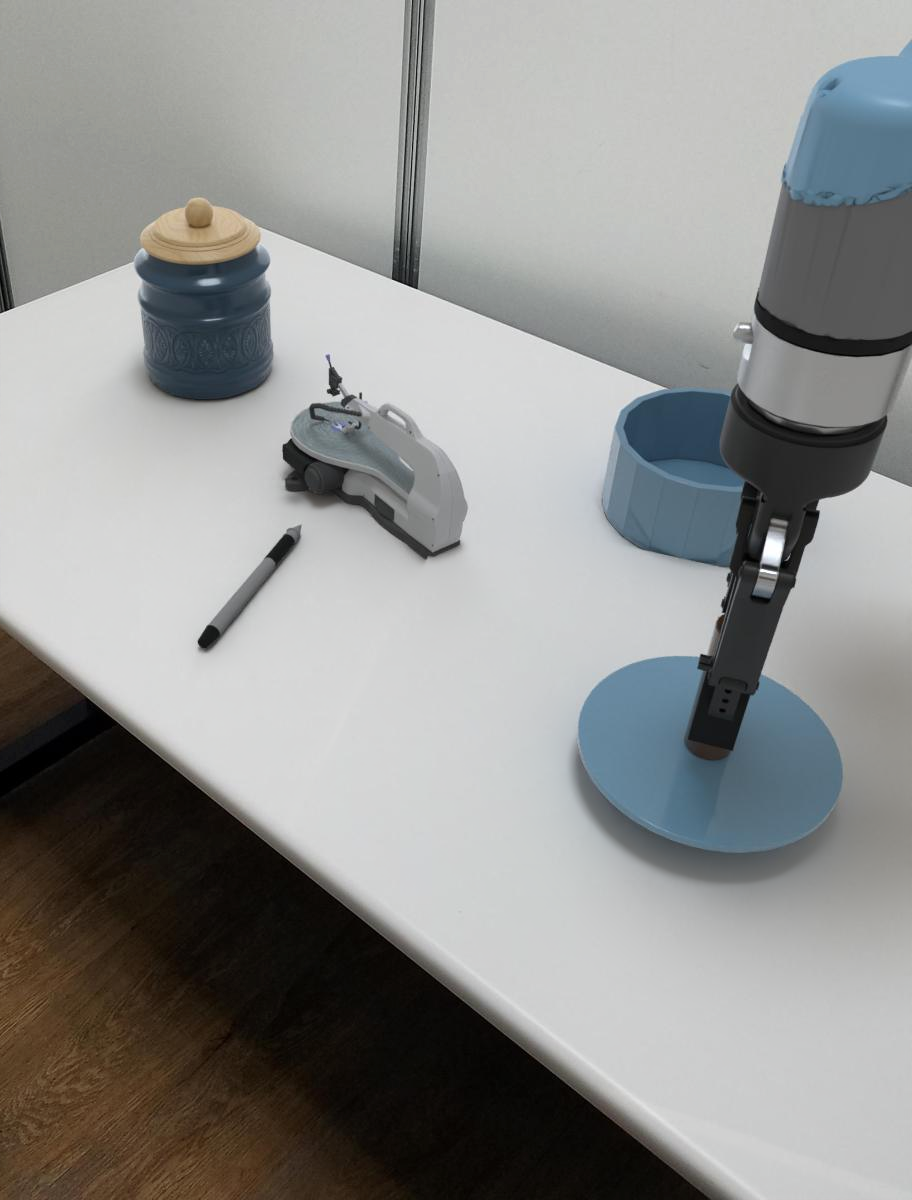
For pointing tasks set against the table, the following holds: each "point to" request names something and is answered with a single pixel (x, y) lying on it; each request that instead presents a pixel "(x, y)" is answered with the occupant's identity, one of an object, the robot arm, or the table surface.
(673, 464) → the bowl
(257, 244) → the canister
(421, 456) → the scroll saw
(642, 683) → the bowl lid
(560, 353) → the table surface
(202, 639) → the pen
